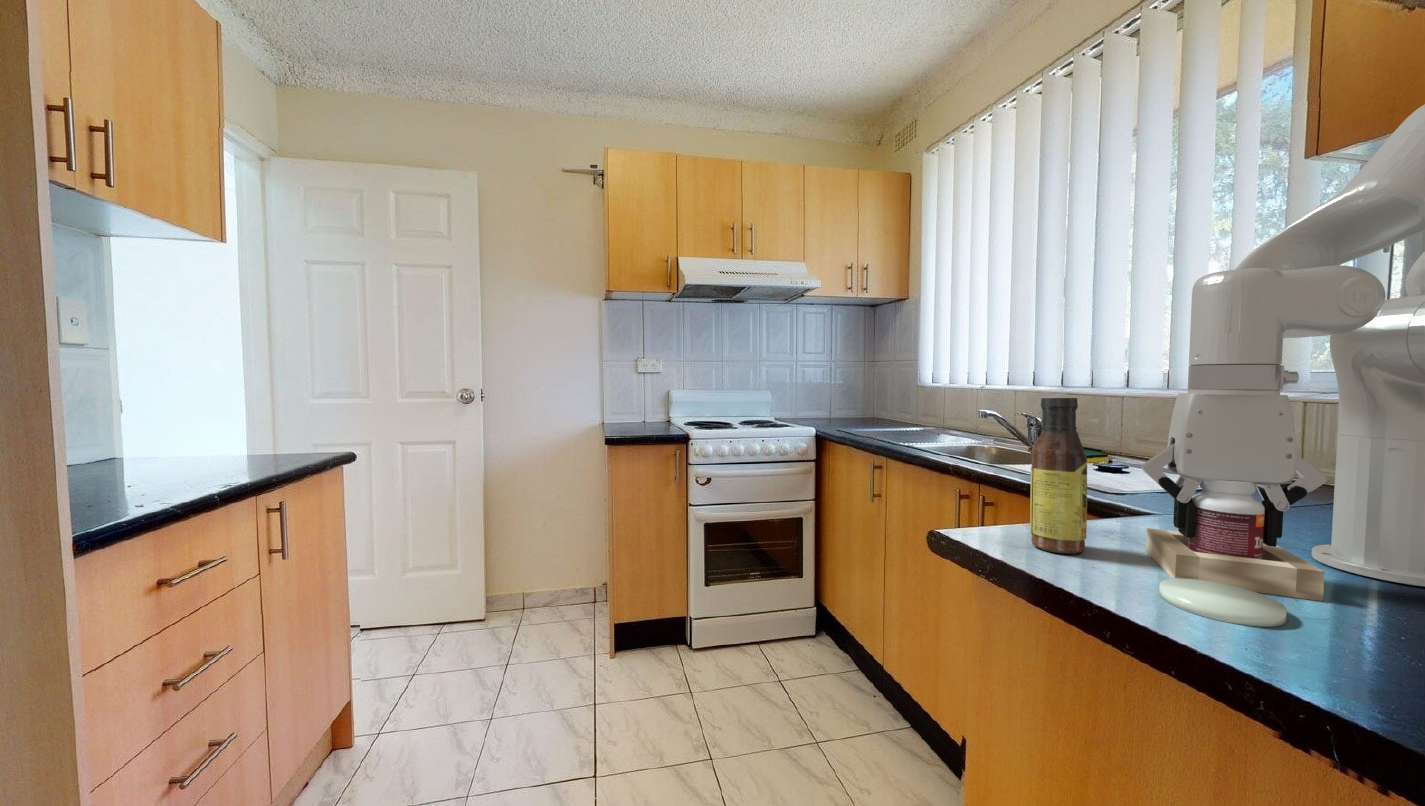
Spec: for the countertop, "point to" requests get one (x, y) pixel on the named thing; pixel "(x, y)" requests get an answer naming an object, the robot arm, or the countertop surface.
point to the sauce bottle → (1058, 480)
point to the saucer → (1223, 602)
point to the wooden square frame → (1237, 567)
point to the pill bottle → (1228, 520)
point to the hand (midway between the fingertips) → (1224, 537)
